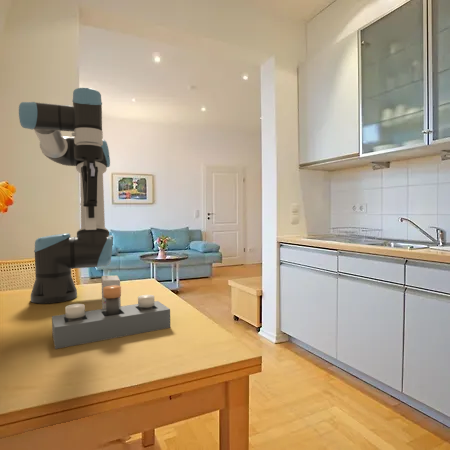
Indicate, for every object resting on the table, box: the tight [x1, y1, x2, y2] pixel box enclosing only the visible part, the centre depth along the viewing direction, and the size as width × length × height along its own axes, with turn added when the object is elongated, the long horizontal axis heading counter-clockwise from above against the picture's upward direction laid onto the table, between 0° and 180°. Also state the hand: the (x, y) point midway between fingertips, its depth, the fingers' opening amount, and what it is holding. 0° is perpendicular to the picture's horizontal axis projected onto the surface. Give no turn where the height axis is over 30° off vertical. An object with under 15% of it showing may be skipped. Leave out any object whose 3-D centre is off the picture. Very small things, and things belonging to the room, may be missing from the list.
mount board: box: [51, 300, 171, 350], centre depth 91 cm, size 10×28×5 cm, turn 120°
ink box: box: [101, 274, 122, 309], centre depth 104 cm, size 8×5×12 cm, turn 23°
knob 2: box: [137, 294, 155, 311], centre depth 95 cm, size 4×4×7 cm
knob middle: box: [103, 285, 122, 316], centre depth 91 cm, size 4×4×7 cm
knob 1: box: [65, 303, 86, 322], centre depth 87 cm, size 4×4×7 cm
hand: (90, 229), depth 99 cm, fingers closed
